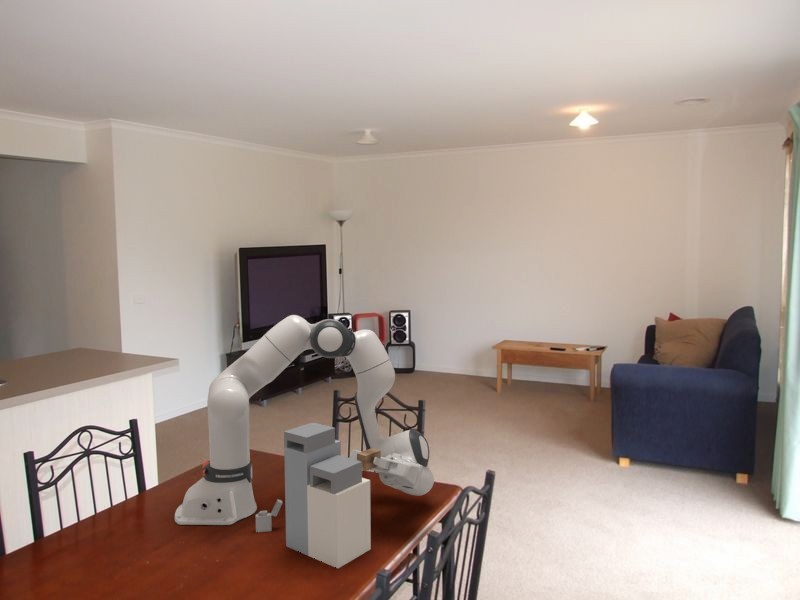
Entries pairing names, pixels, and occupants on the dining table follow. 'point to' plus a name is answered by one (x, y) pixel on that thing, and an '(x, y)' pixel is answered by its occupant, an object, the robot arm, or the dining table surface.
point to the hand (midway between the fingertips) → (366, 458)
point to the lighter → (267, 518)
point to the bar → (368, 458)
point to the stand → (324, 497)
